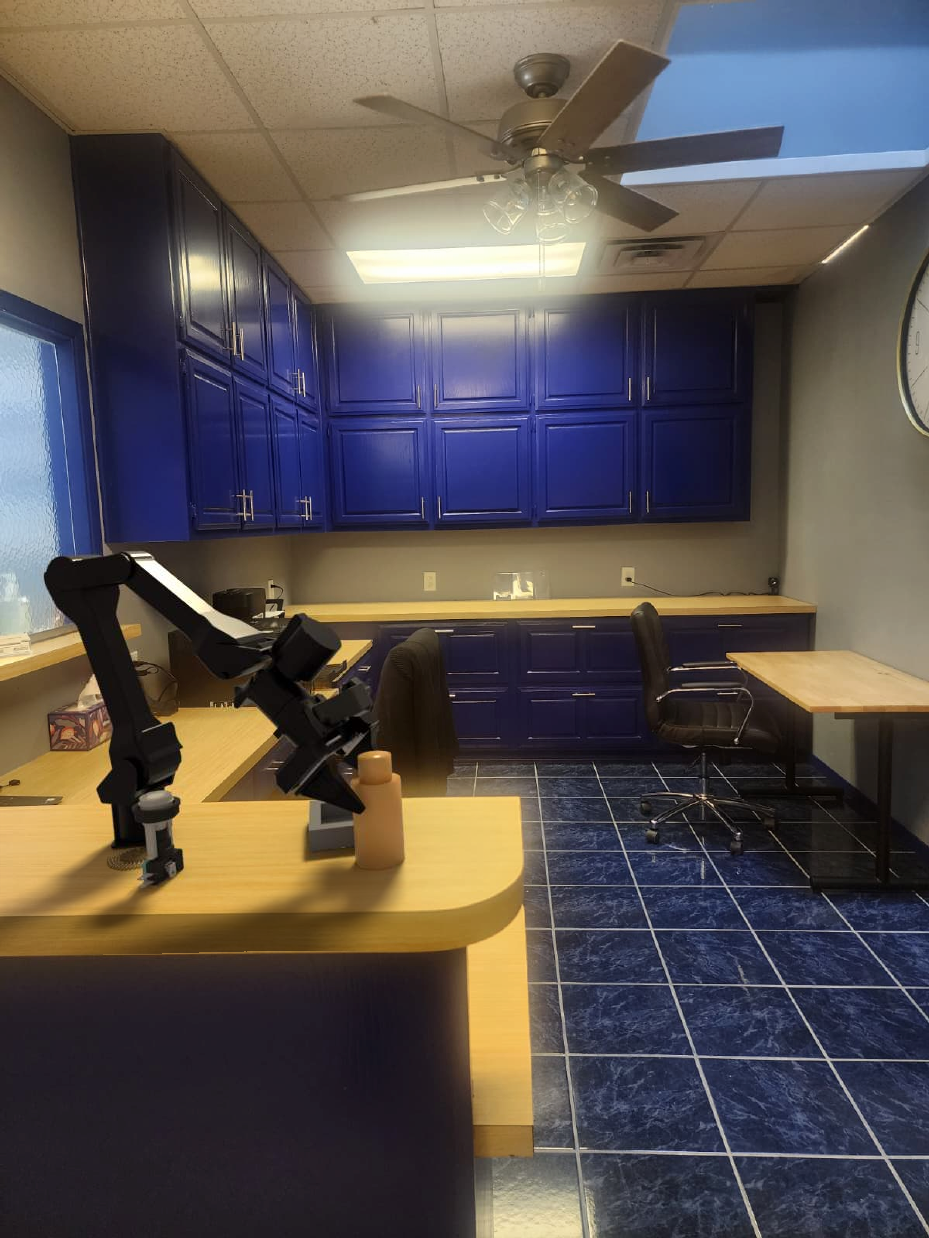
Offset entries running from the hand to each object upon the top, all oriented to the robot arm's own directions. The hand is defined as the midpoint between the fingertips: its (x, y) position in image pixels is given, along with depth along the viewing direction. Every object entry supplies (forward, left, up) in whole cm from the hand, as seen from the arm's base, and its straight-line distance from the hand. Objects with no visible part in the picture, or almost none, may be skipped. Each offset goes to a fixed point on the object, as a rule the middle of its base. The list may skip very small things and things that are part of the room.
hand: (378, 797), depth 89 cm
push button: (-26, +2, -8) cm, 27 cm away
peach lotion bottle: (0, 0, -8) cm, 8 cm away
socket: (-3, +10, -8) cm, 13 cm away
